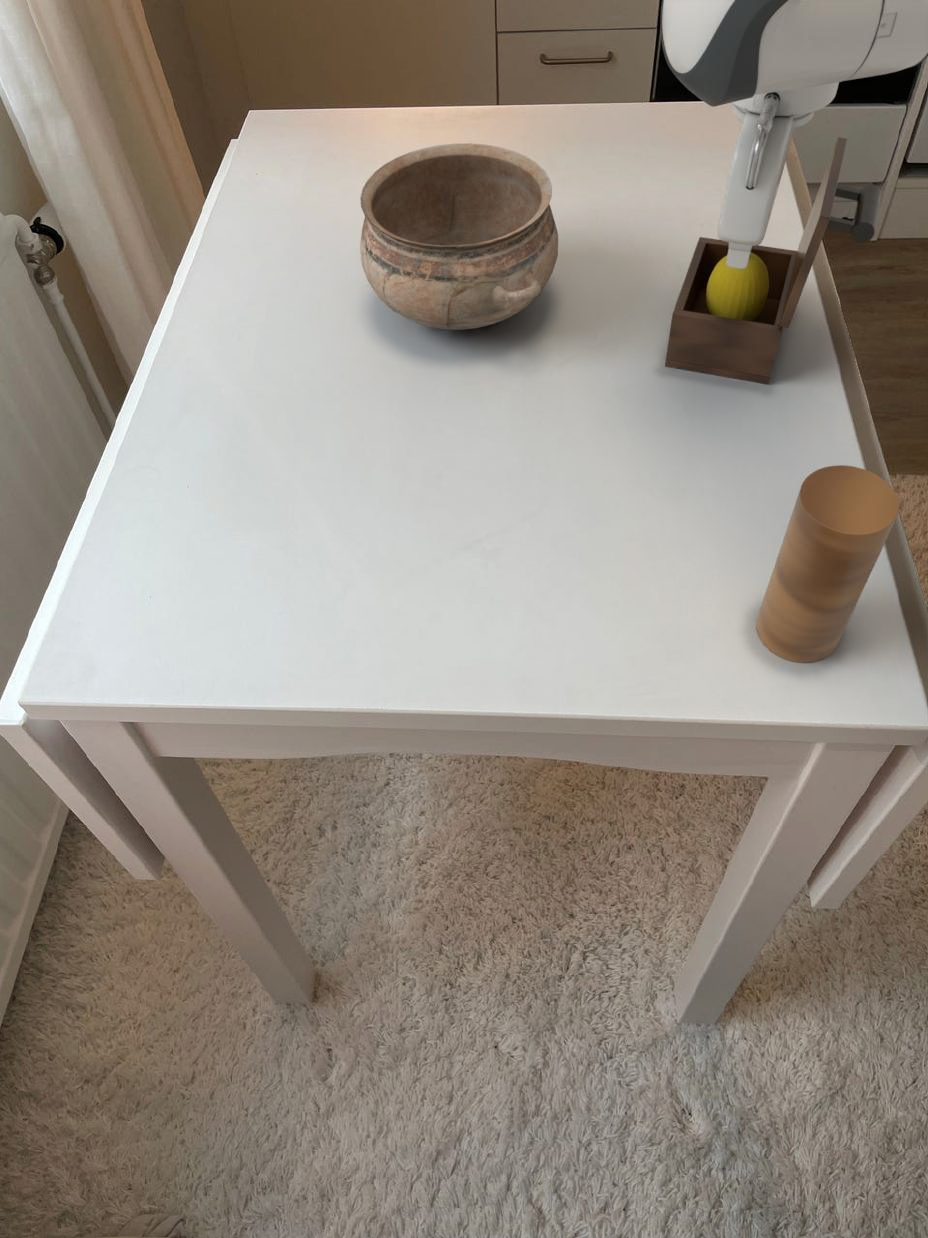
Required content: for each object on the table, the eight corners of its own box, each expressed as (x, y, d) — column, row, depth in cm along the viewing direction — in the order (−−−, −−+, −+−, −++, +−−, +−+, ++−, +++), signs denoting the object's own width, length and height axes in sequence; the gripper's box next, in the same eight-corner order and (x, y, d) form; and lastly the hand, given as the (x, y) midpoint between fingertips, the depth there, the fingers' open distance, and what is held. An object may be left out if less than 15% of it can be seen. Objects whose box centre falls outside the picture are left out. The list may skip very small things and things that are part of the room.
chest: (664, 366, 90) (672, 313, 85) (691, 288, 97) (699, 236, 92) (768, 384, 87) (782, 331, 83) (787, 303, 94) (801, 250, 90)
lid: (819, 215, 74) (882, 229, 73) (838, 136, 81) (895, 147, 80) (778, 326, 82) (834, 339, 82) (798, 245, 89) (850, 257, 89)
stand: (843, 608, 72) (903, 475, 61) (834, 671, 69) (895, 543, 57) (762, 590, 73) (806, 457, 62) (750, 651, 70) (793, 522, 59)
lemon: (763, 315, 92) (781, 239, 86) (753, 350, 89) (771, 274, 83) (706, 305, 93) (719, 230, 87) (694, 339, 90) (708, 264, 84)
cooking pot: (325, 278, 101) (304, 166, 91) (478, 220, 106) (473, 108, 96) (444, 411, 87) (434, 295, 78) (612, 337, 92) (622, 220, 83)
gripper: (806, 138, 66) (764, 309, 77) (839, 13, 77) (798, 178, 88) (715, 127, 67) (686, 296, 78) (760, 6, 79) (729, 169, 90)
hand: (746, 233), depth 83 cm, fingers open, 8 cm apart
